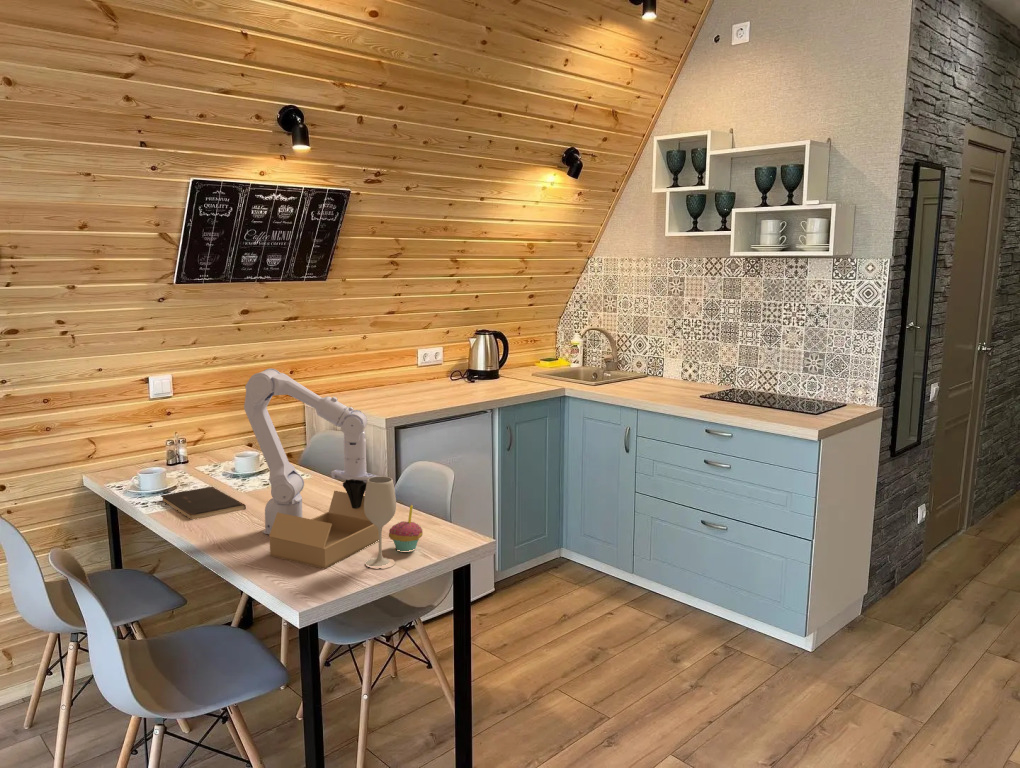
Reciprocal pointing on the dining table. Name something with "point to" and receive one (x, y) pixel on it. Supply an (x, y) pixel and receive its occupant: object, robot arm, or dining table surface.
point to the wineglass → (379, 509)
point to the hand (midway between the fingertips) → (356, 507)
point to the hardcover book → (203, 502)
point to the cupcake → (405, 534)
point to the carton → (329, 542)
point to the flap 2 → (346, 506)
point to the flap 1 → (300, 530)
